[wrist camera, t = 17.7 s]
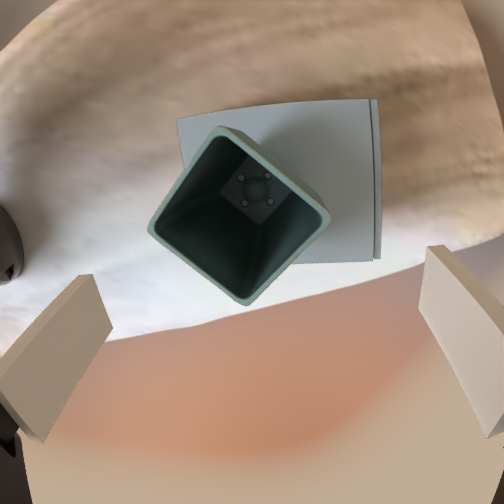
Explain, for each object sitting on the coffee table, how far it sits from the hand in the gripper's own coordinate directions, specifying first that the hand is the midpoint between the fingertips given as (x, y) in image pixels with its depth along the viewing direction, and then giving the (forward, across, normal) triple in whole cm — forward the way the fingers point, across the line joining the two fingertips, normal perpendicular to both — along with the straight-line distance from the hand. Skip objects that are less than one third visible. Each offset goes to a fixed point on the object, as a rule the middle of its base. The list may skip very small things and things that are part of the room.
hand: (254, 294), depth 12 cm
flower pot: (+17, -1, 0) cm, 17 cm away
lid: (+19, +2, 0) cm, 19 cm away
